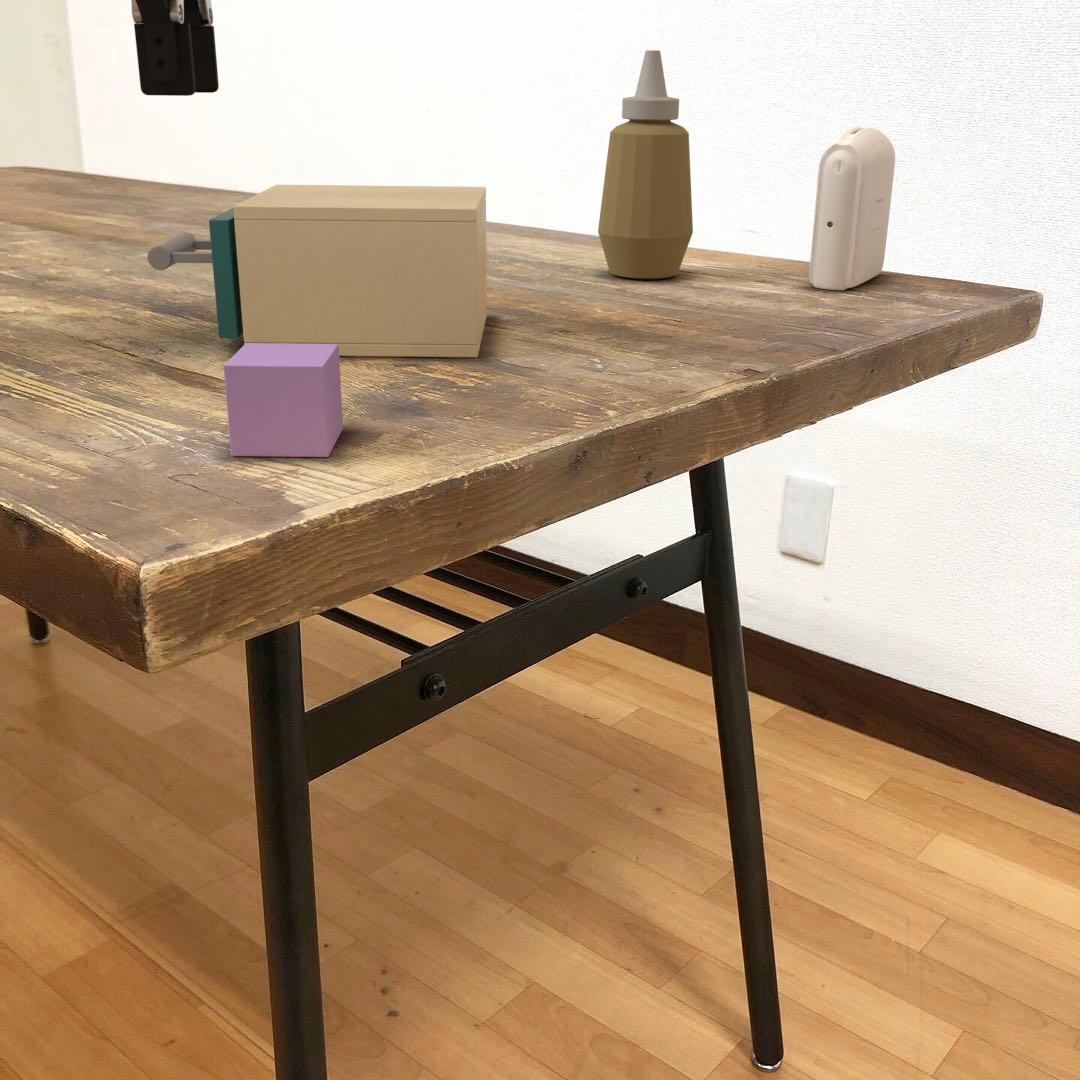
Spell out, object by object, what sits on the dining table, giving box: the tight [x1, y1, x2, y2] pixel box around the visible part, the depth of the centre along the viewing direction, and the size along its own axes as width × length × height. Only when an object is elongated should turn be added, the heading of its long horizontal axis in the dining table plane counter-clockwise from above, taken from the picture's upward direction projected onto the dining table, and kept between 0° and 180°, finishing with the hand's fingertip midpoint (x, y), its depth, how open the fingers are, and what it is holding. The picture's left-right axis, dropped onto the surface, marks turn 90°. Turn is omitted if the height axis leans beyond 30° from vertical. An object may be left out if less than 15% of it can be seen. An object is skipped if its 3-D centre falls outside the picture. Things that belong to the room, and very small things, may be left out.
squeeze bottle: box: [597, 49, 694, 280], centre depth 103 cm, size 8×8×18 cm
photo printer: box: [808, 126, 896, 291], centre depth 102 cm, size 10×4×12 cm, turn 149°
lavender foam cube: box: [223, 343, 344, 458], centre depth 60 cm, size 5×5×4 cm
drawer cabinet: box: [232, 184, 488, 358], centre depth 81 cm, size 15×13×9 cm
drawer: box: [146, 207, 243, 340], centre depth 81 cm, size 18×11×7 cm, turn 90°
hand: (181, 90), depth 77 cm, fingers open, 4 cm apart
